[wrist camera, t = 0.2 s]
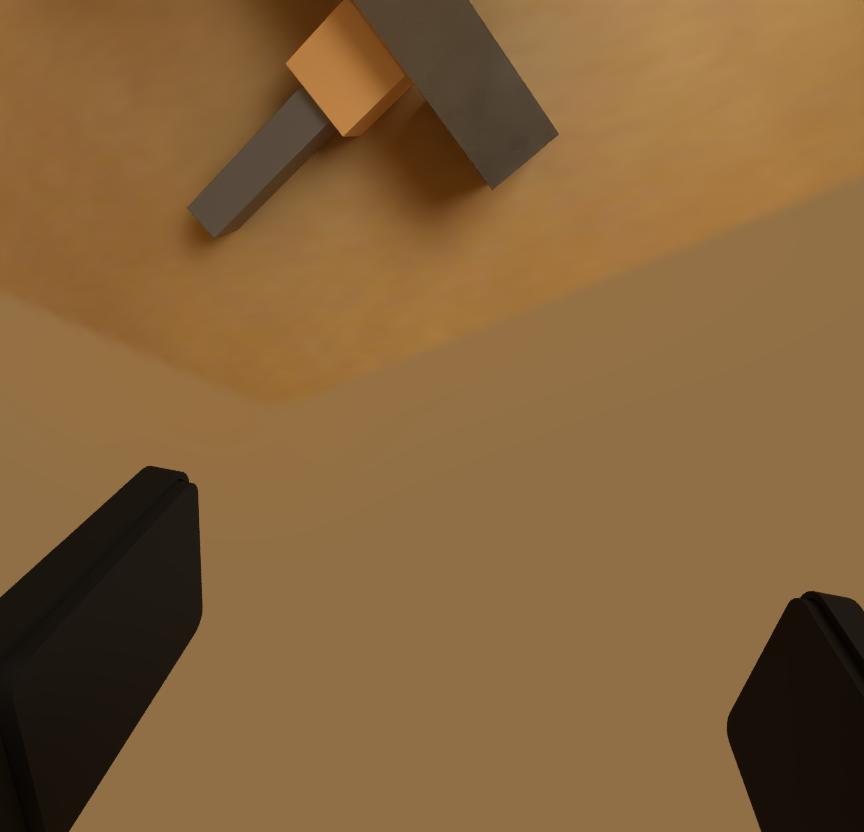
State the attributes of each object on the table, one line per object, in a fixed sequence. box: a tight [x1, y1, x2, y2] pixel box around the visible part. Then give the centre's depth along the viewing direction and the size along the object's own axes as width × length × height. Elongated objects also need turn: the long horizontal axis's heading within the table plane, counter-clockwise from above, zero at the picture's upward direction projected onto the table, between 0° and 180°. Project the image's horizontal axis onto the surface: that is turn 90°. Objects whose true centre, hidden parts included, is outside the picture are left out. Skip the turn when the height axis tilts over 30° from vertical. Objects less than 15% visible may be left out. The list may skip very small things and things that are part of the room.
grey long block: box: [354, 0, 559, 190], centre depth 30 cm, size 4×18×6 cm, turn 40°
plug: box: [187, 0, 414, 238], centre depth 34 cm, size 14×4×4 cm, turn 130°
